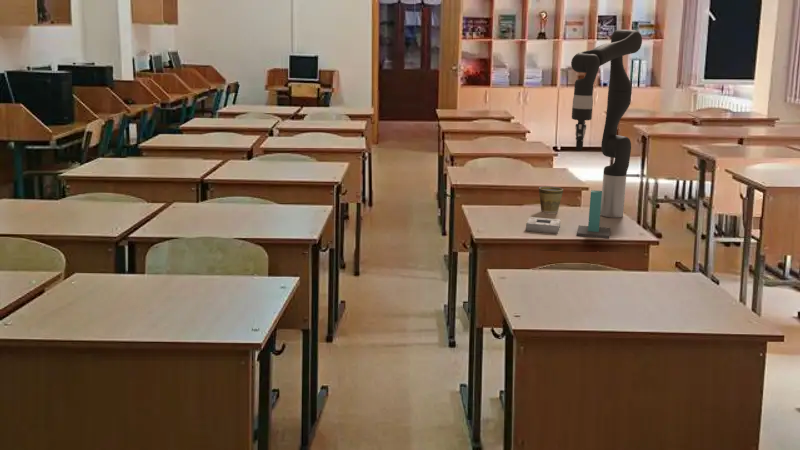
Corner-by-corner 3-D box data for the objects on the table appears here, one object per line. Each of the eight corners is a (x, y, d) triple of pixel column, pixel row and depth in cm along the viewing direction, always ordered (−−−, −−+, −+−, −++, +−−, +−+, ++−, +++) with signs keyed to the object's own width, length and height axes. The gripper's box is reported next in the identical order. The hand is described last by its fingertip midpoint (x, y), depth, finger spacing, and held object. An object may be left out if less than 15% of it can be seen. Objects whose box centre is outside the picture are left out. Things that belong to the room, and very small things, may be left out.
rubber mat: (578, 227, 362) (578, 225, 362) (610, 230, 359) (610, 227, 359) (576, 235, 348) (576, 233, 348) (609, 238, 346) (609, 235, 346)
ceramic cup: (557, 215, 383) (559, 191, 381) (534, 212, 388) (535, 189, 385) (566, 210, 395) (568, 186, 393) (543, 207, 399) (545, 184, 397)
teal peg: (588, 228, 356) (591, 190, 353) (599, 229, 355) (602, 190, 352) (587, 231, 352) (590, 192, 349) (598, 232, 351) (601, 192, 348)
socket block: (529, 224, 365) (529, 216, 364) (560, 226, 362) (560, 219, 362) (525, 230, 354) (526, 223, 353) (557, 233, 351) (558, 225, 350)
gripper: (591, 109, 347) (588, 152, 351) (593, 106, 361) (589, 147, 364) (571, 108, 349) (568, 151, 353) (573, 105, 362) (570, 146, 366)
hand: (579, 149), depth 358 cm, fingers open, 8 cm apart
